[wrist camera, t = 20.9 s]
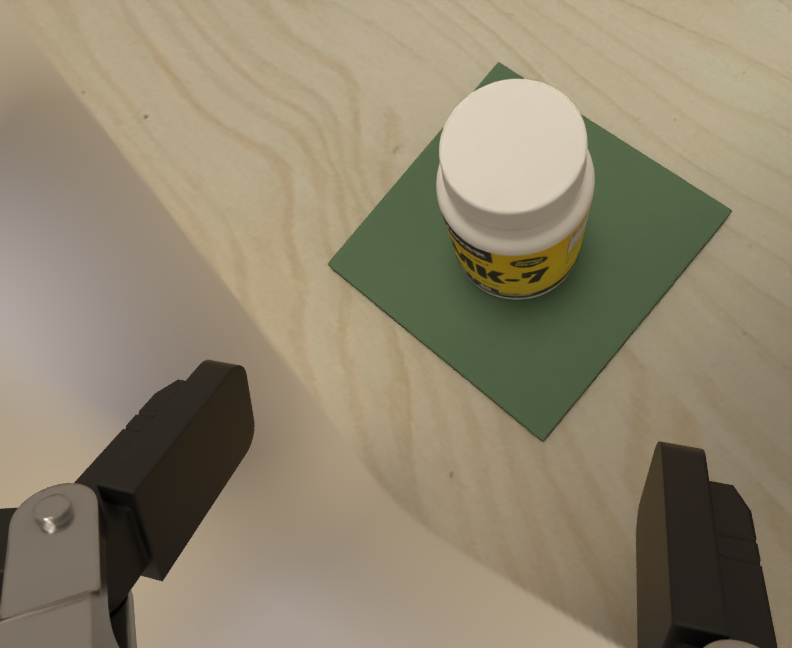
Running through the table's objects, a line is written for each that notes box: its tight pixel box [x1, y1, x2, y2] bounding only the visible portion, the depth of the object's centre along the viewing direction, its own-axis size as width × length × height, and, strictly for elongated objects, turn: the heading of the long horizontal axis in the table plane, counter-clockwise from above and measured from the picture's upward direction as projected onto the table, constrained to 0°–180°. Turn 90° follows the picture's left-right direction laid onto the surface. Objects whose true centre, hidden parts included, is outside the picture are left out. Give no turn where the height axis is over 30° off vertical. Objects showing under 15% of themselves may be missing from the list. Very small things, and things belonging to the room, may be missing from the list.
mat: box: [328, 62, 732, 441], centre depth 26 cm, size 11×11×1 cm
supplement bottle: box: [436, 79, 595, 300], centre depth 22 cm, size 5×5×8 cm
